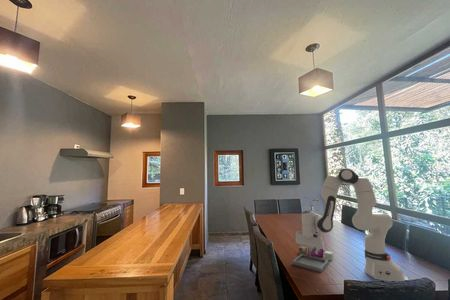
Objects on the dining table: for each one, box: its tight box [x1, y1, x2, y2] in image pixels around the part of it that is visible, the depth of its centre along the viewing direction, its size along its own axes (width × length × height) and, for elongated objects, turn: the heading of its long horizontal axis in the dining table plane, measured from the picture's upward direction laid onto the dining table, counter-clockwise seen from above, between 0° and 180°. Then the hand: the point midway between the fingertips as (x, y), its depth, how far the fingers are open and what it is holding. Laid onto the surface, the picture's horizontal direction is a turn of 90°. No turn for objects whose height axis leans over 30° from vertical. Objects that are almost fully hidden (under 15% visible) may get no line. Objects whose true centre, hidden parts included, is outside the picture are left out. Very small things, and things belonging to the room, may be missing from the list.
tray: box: [292, 254, 330, 273], centre depth 152 cm, size 20×18×2 cm
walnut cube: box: [298, 245, 308, 255], centre depth 172 cm, size 5×5×5 cm
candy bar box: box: [307, 246, 324, 258], centre depth 167 cm, size 11×5×16 cm, turn 70°
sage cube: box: [323, 250, 334, 261], centre depth 160 cm, size 5×5×5 cm
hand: (310, 252), depth 152 cm, fingers open, 8 cm apart
